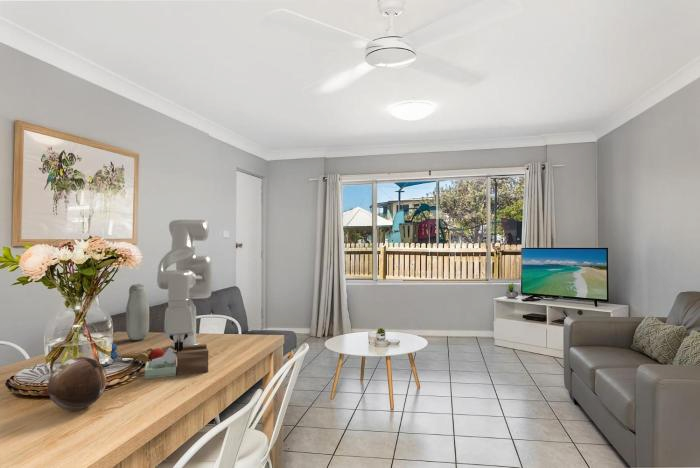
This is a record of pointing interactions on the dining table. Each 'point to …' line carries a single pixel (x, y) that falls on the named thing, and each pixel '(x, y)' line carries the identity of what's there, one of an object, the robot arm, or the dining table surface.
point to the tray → (160, 370)
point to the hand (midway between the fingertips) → (178, 351)
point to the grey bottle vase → (137, 313)
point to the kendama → (146, 355)
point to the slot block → (192, 359)
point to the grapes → (113, 353)
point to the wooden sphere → (77, 383)
